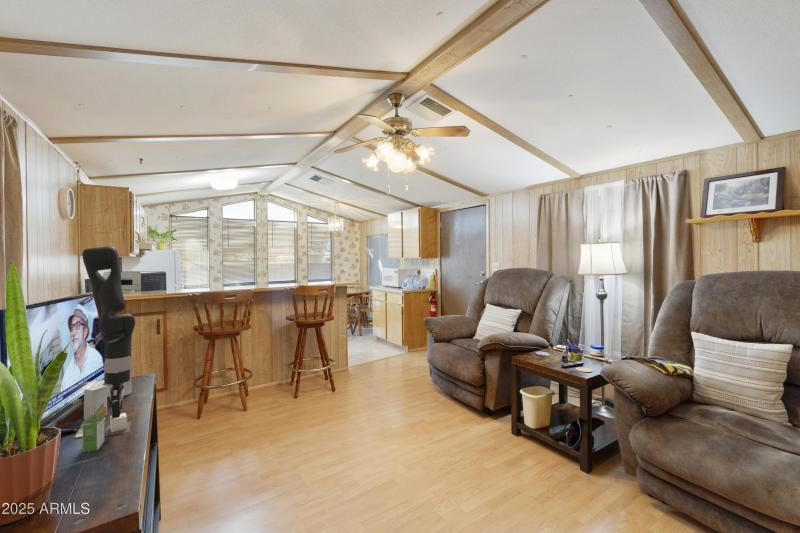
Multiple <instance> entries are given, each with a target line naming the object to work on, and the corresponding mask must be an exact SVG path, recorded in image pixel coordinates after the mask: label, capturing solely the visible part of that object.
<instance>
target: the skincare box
mask: <svg viewBox="0 0 800 533" xmlns="http://www.w3.org/2000/svg"><path fill="white" fill-rule="evenodd" d="M83 399H84V400H83V421H85V420H86V419H87V418H88V417H89V416H90V415H93V414H97V409H98V408H99V407H100V406H101V405H102V404H103V403H104V417H105V416H107V415H108V397H107V386H106V385H103V384H97V385H95V386H92V387H90V388H87V389H84V390H83ZM101 411H102V408H101V409H100V411H99V413H100V412H101Z"/></svg>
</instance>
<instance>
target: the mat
mask: <svg viewBox="0 0 800 533" xmlns="http://www.w3.org/2000/svg"><path fill="white" fill-rule="evenodd" d="M131 424H132V421H131V420H130V421H127V429H123V430H119V431H115V432H111V430H110V424H108V425H107V428H106V431H105V432H104V437H107V436H113V435H119V434H123V433H125V434H126V433H129V432H130V429H131Z"/></svg>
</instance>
